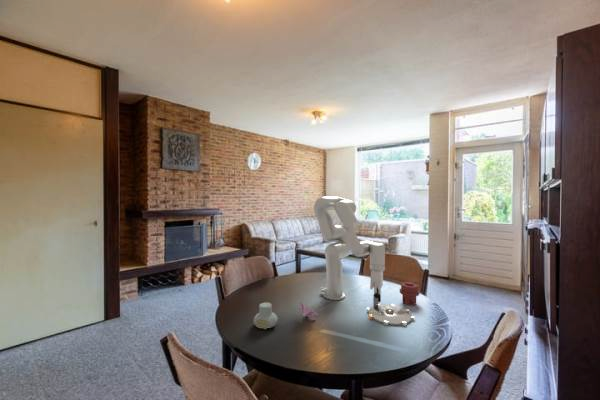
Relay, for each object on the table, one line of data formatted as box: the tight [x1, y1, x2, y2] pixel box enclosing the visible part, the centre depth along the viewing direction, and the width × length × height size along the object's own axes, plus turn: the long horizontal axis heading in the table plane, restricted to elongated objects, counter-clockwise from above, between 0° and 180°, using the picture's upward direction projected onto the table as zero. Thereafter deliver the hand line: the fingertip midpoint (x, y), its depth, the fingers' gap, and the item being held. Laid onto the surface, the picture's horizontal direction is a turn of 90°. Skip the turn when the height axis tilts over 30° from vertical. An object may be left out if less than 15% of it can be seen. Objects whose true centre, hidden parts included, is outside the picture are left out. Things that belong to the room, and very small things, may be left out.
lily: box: [296, 300, 319, 323], centre depth 132 cm, size 12×12×10 cm
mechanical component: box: [399, 281, 420, 306], centre depth 151 cm, size 12×10×10 cm
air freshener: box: [253, 302, 278, 330], centre depth 127 cm, size 11×8×10 cm
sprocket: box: [366, 296, 415, 327], centre depth 135 cm, size 22×22×6 cm
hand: (377, 301), depth 144 cm, fingers closed
